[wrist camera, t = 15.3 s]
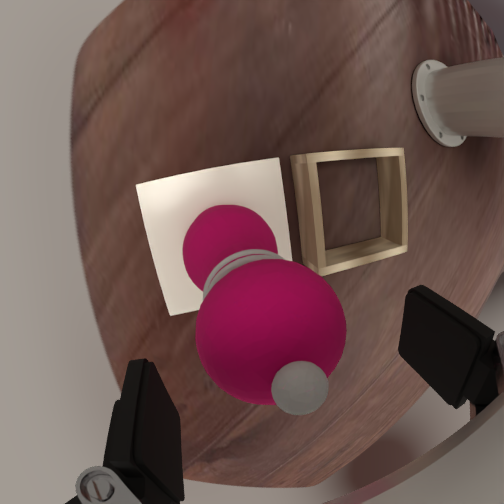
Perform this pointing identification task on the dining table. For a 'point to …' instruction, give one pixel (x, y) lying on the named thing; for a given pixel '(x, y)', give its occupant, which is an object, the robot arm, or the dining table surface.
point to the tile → (194, 203)
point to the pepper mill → (261, 313)
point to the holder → (390, 210)
